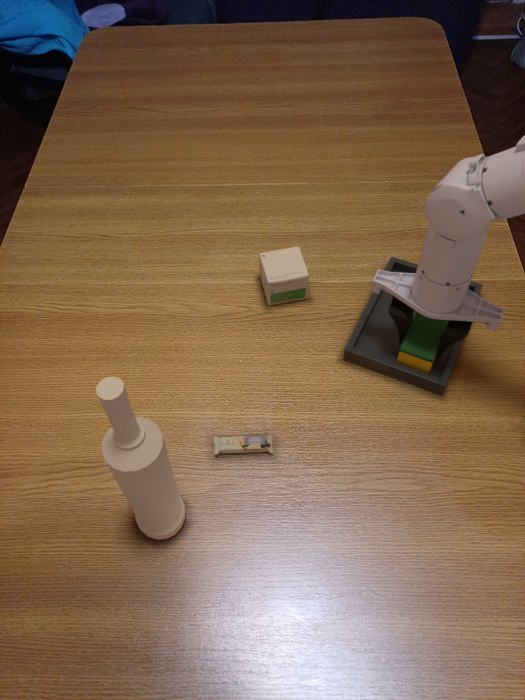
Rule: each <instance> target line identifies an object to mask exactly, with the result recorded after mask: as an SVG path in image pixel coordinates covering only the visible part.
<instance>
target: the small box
mask: <svg viewBox="0 0 525 700" xmlns="http://www.w3.org/2000/svg"><path fill="white" fill-rule="evenodd" d="M304 259H305V258H304V256H303V253H302V250H301V247H300V245H299V246H293V247H288V248H281V249H275V250H270V251H264V252H259V253H258V260H259V261H258V265H259V278H260V281H261V284H262V287H263V292H264V296H265V299H266V303H267V305H268V306H273V305H278V304H279V305H280V304H284V303H289V302H290V303H291V302H295V301H300V300H308V298H309V286H310V285H309V283H310V274H309V271H308V268H307V266H306V263H305V260H304Z"/></svg>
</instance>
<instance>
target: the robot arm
mask: <svg viewBox="0 0 525 700" xmlns="http://www.w3.org/2000/svg"><path fill="white" fill-rule="evenodd" d="M423 211H424V216H425V219H426V221H427V223H428V225H427V227H426V230H425V235H424V238H423V239H424V240H423V243H422V246H421V247H422V248H421V250H420V255H419V260H418V262H417V264H418V267H417V271H416V273H398V272H388V271H384V270H383V269H379V268H378V269H377V271H376V273H375V275H374V277H373V279H372V282H371V289H370V292H372V293H373V292H374V293H377V294H379V293H381V291H384V292H388V293H390V294H391V295H393V299H392V302H391V304H390V306H389V315H390V316H391V317H392V319H393V320H394V322H395V324H396V327H397V330H398V334H399V343H401V344H402V343H403V341H404V338H405V336H406V334H407V332H408V329H409V327H410V325H411V322H412V320H413V314H414V310H415V311H417V312H418V313H420V314H422V315H423V316H426V317H428V318H432V319H439V320H449V321H448V324H447V327H446V329H445V332H444V334H443V337H442V339H441V342H440V345H439V347H438V350H437V353H436V356H438V357H441V356H442V354H443V353H444V351H445V350H446V349H447V348H448V347H450V346H451V345H452V344H454V343H455V342H457V341H460V340H463V341H464V340H465V339H466V337H468V335H469V333H470V331H471V328H472V325H473V322H476V323H481V324H482V325H483V324H484V325H486V329H487V330H488V331H491V332H494V333H497V332H498V330H499V328H500V326H501V323H502V320H503V317H504V315H505V313H506V308H503V307H501V306H498V305H496V304H494V303H492V302H490V301H488V300H487V299H486V298H483V297H482V296H480V294H479V295H477V294H475V293H474V292H472V291H470V290H469V289H468V287H469V284H470V282H471V281H472V279H473V276H474V272H475V270H476V267H477V264H478V262H479V259H480V256H481V253H482V251H483V248H484V245H485V242H486V237H487V233H488V230H489V227H490V224H492V223H493V222H497V221H498V222H499V221H504V220H507V219H510V218H511V219H512V218H515V217H518V216H522V215H525V135H523V136H521V138H520V139H519V140H518V142H517V143H516V145H515V146H513V147H510V148H508V149H505V150H503V151H499V152H497V153H494V154H492V155H489V156H485V154H484V153H480V154H478V155H475V156H470V157H465V158H463V159H461V160H459V161H458V162H457V163H456V164H454V165H453V167H452V168H451V169H450V170H449V171H448V172H447V173H446V174H445V175H444V177H443V178H442V179H441V180H440V181H439V182H438V183H437V184H436V186H435V187H434V188H432V190H431V191H430V193H429V195H428V196H427V198H426V200H425V201H424V210H423Z"/></svg>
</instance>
